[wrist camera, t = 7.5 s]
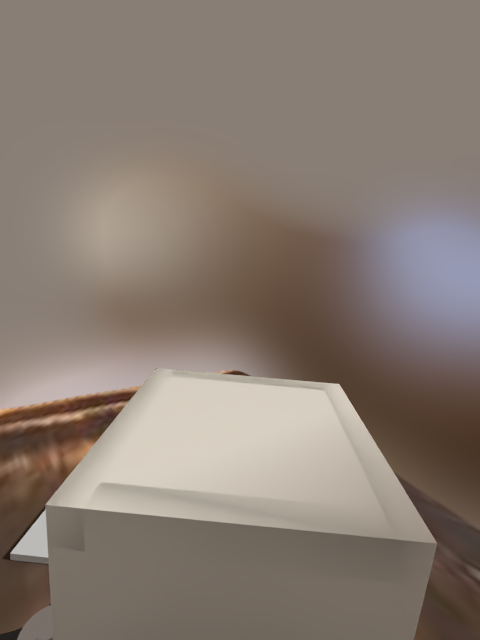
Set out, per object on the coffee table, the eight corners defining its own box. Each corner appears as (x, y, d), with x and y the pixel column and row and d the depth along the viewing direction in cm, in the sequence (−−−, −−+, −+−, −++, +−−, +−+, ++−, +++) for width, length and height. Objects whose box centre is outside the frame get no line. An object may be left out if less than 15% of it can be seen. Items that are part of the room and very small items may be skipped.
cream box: (149, 646, 14) (156, 368, 11) (297, 662, 14) (339, 384, 11) (71, 946, 8) (44, 505, 5) (330, 981, 8) (437, 543, 5)
